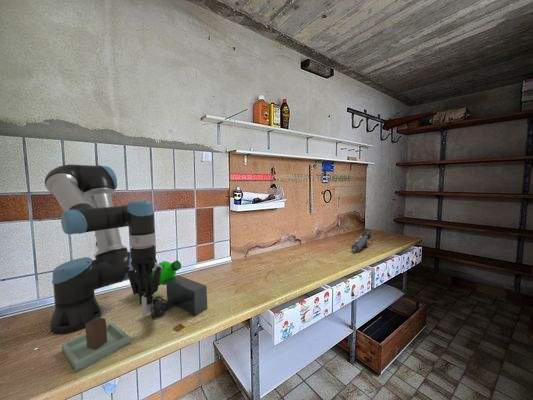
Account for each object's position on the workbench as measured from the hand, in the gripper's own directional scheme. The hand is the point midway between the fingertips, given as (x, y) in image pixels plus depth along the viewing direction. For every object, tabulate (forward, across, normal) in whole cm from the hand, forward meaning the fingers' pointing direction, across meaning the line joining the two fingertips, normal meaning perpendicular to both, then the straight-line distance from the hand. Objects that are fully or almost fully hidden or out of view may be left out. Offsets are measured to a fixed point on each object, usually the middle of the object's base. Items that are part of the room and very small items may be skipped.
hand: (146, 312), depth 80 cm
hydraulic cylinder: (+7, +106, +106) cm, 150 cm away
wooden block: (+7, -12, -7) cm, 16 cm away
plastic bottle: (+4, -22, +28) cm, 36 cm away
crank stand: (+7, +4, +14) cm, 16 cm away
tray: (+8, -12, -8) cm, 16 cm away
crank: (+3, 0, +7) cm, 8 cm away
